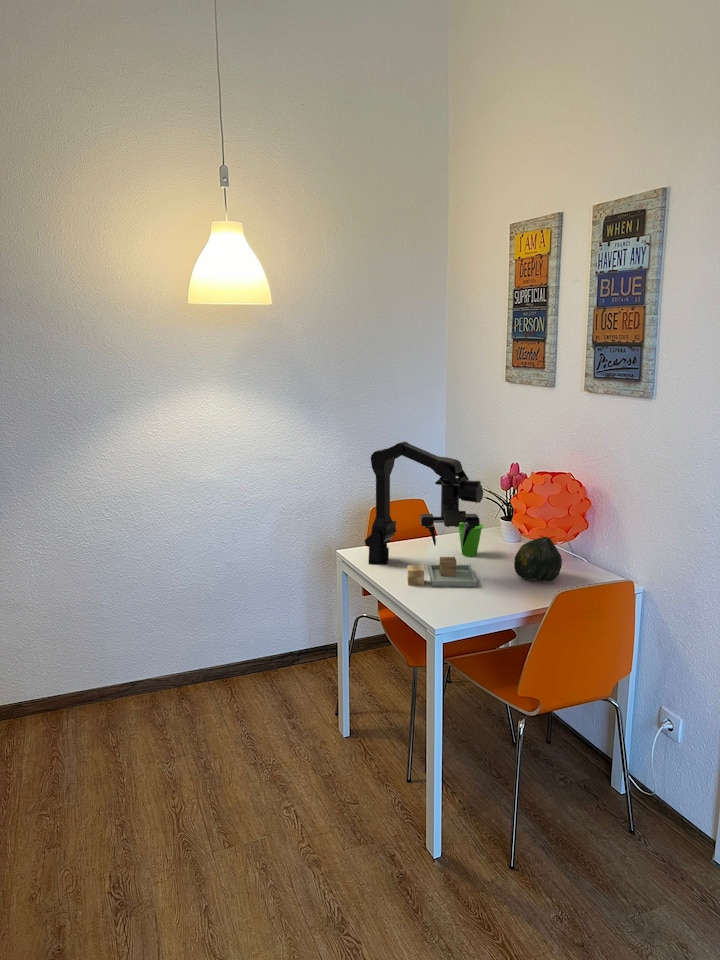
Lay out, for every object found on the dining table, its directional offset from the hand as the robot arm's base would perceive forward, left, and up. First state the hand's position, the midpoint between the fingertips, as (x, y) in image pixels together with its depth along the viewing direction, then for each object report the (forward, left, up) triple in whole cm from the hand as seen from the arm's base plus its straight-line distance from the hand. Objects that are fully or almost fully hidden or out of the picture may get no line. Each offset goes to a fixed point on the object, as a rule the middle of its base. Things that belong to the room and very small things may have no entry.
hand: (449, 545), depth 227 cm
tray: (+1, -3, -10) cm, 11 cm away
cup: (+10, +22, -11) cm, 26 cm away
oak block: (-11, -7, -11) cm, 17 cm away
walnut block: (0, 0, -10) cm, 10 cm away
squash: (+29, -2, -11) cm, 31 cm away
